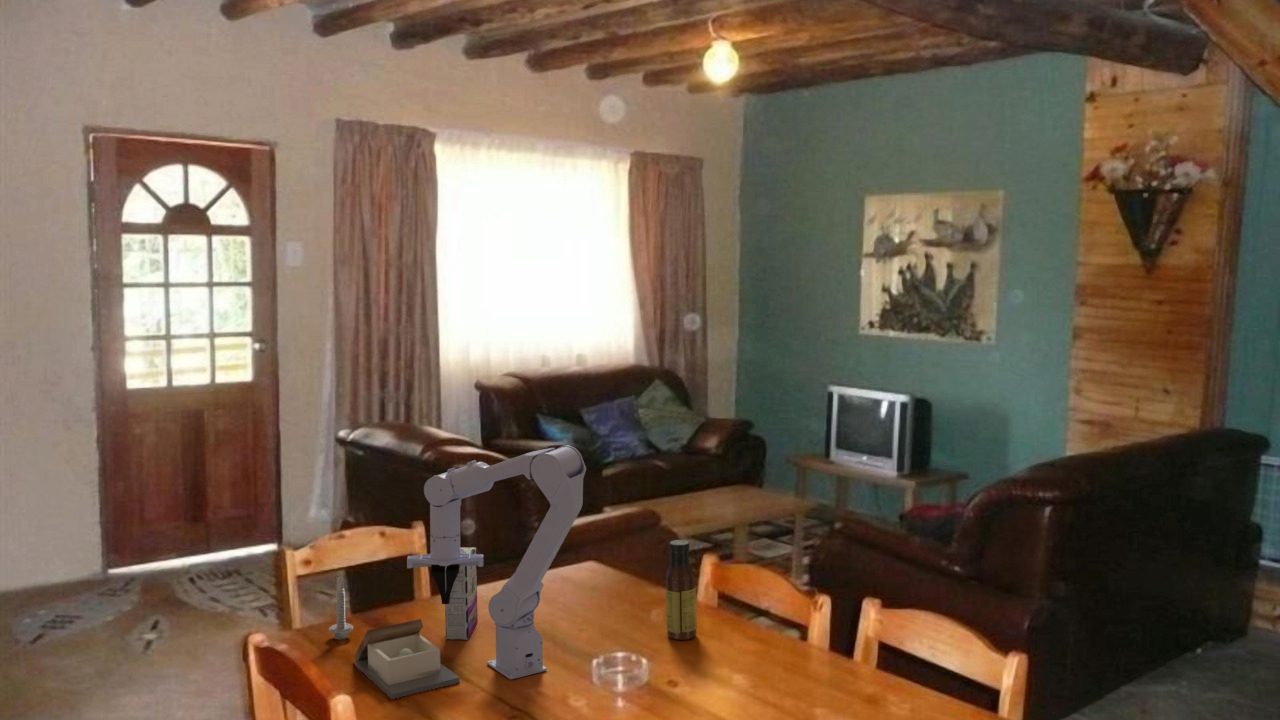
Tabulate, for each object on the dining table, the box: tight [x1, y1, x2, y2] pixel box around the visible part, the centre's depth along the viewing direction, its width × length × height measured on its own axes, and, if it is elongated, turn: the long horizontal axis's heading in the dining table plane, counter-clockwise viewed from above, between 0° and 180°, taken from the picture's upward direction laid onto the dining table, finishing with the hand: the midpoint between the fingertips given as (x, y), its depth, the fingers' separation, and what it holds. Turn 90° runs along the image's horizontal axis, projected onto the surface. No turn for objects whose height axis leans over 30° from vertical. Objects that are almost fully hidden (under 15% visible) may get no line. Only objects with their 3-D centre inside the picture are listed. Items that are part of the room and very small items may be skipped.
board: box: [354, 659, 461, 700], centre depth 196 cm, size 18×13×1 cm
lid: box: [354, 618, 424, 661], centre depth 202 cm, size 10×10×2 cm
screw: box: [328, 575, 355, 641], centre depth 214 cm, size 13×5×5 cm
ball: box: [397, 648, 413, 657], centre depth 196 cm, size 3×3×3 cm
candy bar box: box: [444, 546, 479, 641], centre depth 218 cm, size 11×5×16 cm, turn 179°
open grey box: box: [368, 633, 441, 685], centre depth 195 cm, size 10×10×4 cm
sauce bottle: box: [665, 539, 698, 641], centre depth 216 cm, size 7×6×20 cm
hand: (445, 602), depth 205 cm, fingers closed
